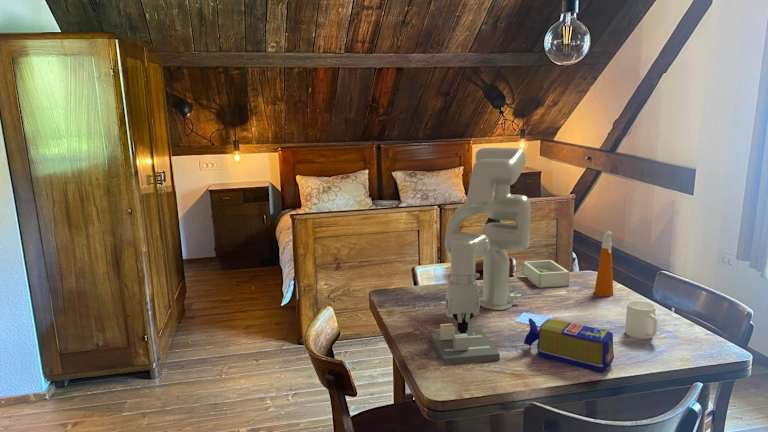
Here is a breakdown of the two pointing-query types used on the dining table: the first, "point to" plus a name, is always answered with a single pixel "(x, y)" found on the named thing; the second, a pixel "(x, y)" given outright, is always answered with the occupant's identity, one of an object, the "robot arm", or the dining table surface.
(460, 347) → the fader
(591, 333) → the bread
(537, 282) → the frame
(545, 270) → the medication box
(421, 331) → the dining table surface
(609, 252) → the spray bottle
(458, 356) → the console
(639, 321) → the cup
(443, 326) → the fader
